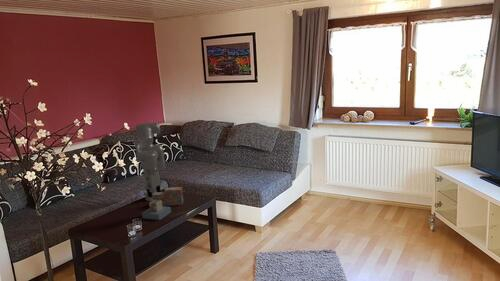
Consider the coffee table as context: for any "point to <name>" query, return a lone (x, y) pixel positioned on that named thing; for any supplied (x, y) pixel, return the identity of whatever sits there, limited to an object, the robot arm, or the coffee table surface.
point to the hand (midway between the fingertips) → (154, 194)
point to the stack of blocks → (170, 196)
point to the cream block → (155, 205)
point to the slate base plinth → (156, 213)
